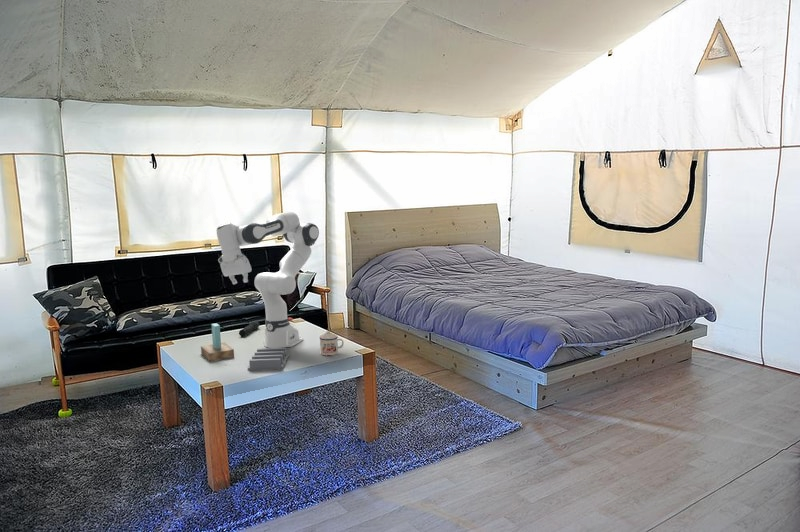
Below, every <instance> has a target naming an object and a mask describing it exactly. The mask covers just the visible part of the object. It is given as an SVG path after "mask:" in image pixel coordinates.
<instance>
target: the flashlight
mask: <svg viewBox="0 0 800 532" xmlns="http://www.w3.org/2000/svg"><path fill="white" fill-rule="evenodd" d="M259 327H260V322H259V321H257V320H253V321H251V322H250V323H249V324H248V325H246V326H245V327H244V328H241V329H240V330H239V332H238V335H239V336H240V337H241V338H244V337H246V336H247V335H248V334H249V333H252V332H253V331H256V330H258V329H259Z"/></svg>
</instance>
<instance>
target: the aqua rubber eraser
mask: <svg viewBox="0 0 800 532" xmlns="http://www.w3.org/2000/svg"><path fill="white" fill-rule="evenodd" d="M211 337H212V338H211V339H212V344H213V347H214V348H215V349H216V350H217V349H221V343H222V341H221V338H222V337H221V325H220V324H218V323H217V322H216V323H211Z"/></svg>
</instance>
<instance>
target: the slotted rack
mask: <svg viewBox="0 0 800 532" xmlns="http://www.w3.org/2000/svg"><path fill="white" fill-rule="evenodd" d="M288 356H289V353H288V354H287V347H283V348H268V347H262V348H257V349H256V351H255V352H254V355H252V356H251V359H249V362H248V363H249V365H248V367H247V371H248V370H249V371H271V370H270V369H277V370H283V369H284V367H285V365H286V363H287V361H288V359H289V357H288ZM287 358H288V359H287ZM286 360H287V361H286ZM285 362H286V363H285ZM284 364H285V365H284ZM283 366H284V367H283Z"/></svg>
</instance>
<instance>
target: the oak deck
mask: <svg viewBox="0 0 800 532" xmlns="http://www.w3.org/2000/svg"><path fill="white" fill-rule="evenodd" d="M200 353H201V355H202V357H204V358H205V359H206V358H207V361H208V362H215V360H216V361H221V360H227V359H231V358H235V351H234V348H232V347H231V346H230V345H229V344H227V343H226V342H221V349H217V350H216V349H215V348H214V347H213V343H212V344H207V345H201V346H200Z"/></svg>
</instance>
